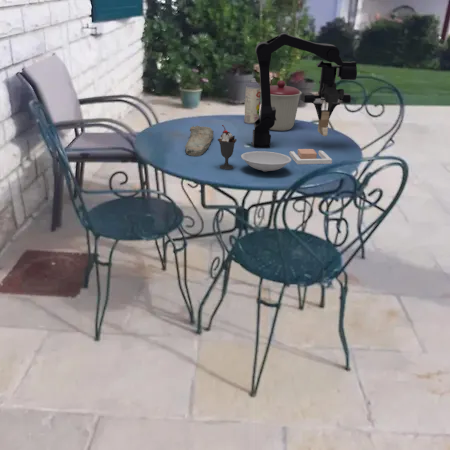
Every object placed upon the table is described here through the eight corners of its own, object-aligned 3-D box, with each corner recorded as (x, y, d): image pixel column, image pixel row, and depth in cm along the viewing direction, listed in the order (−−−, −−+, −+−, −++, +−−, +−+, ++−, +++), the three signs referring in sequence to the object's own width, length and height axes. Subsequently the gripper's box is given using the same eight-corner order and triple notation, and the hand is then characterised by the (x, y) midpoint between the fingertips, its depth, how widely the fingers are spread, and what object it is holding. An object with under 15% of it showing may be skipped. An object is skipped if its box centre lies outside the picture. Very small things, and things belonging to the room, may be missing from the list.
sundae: (216, 164, 200) (217, 123, 194) (234, 164, 200) (236, 123, 194) (217, 170, 194) (218, 128, 188) (236, 170, 194) (238, 128, 188)
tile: (300, 160, 209) (301, 153, 208) (297, 155, 214) (297, 149, 213) (316, 160, 209) (316, 153, 208) (312, 155, 215) (313, 149, 214)
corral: (297, 164, 202) (297, 160, 202) (289, 154, 213) (289, 151, 212) (331, 163, 204) (332, 159, 204) (321, 154, 215) (322, 150, 214)
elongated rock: (179, 159, 209) (206, 162, 209) (180, 146, 207) (206, 149, 206) (192, 131, 240) (215, 133, 239) (193, 119, 237) (216, 121, 237)
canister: (249, 127, 250) (252, 79, 241) (277, 121, 261) (280, 75, 252) (279, 135, 238) (282, 85, 229) (306, 129, 249) (311, 81, 240)
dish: (293, 167, 199) (294, 154, 197) (286, 180, 186) (287, 166, 184) (245, 162, 203) (246, 149, 201) (235, 174, 190) (236, 160, 188)
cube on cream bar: (328, 136, 218) (331, 113, 214) (321, 136, 217) (323, 113, 213) (322, 131, 224) (325, 108, 221) (315, 131, 224) (317, 108, 220)
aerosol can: (257, 124, 254) (259, 80, 246) (242, 123, 256) (244, 79, 247) (260, 121, 260) (262, 77, 252) (245, 120, 262) (247, 76, 253)
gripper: (310, 83, 203) (306, 125, 210) (358, 83, 206) (353, 124, 213) (302, 77, 213) (298, 118, 220) (348, 78, 216) (343, 117, 223)
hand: (323, 119), depth 219 cm, fingers closed on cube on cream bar, 3 cm apart
